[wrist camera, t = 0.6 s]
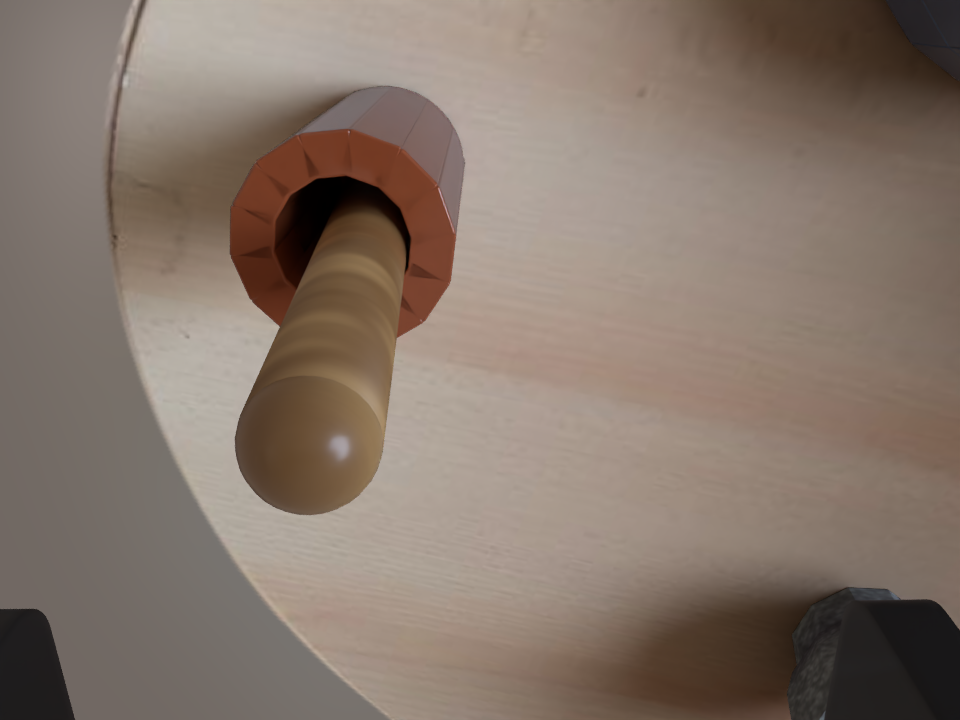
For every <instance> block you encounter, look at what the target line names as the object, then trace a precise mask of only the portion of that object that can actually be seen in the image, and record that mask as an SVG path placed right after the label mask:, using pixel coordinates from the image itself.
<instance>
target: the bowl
mask: <svg viewBox="0 0 960 720" xmlns="http://www.w3.org/2000/svg"><path fill="white" fill-rule="evenodd" d="M886 2H887V4H888V5H889V7H890V9H891V11H892V12H893V14H894V16H895V17H896V19H897V21H898V23H899V24H900V26H901V28H902V29H903V31H904V33H905V35H906V36H907V38H908V40H909V41H910V42H911V43H912V45H913V46H914V47H916V48H917V49H918V50H920V51H921V52H922V53H923V54H925V55H926V56H927V57H928V58H930V59H931V60H932V61H934V62H935V63H936V64H937V65H939V66H940V67H941V68H942V69H944V70H945V71H946V72H948V73H949V74H950V75H951V76H953V77H954V78H955V79H956V80H959V81H960V0H886Z"/></svg>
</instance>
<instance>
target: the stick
mask: <svg viewBox="0 0 960 720" xmlns="http://www.w3.org/2000/svg"><path fill="white" fill-rule="evenodd" d="M408 241H409V232H408V230H407V227H406V224H405V222H404V219H403V216H402V214H401V211H400V209H399V208H398V207H397V206H396V205H395V204H394V203H393V202H392V201H391V200H390V199H389V198H388V197H387V196H386V195H385V194H384V193H383V192H382V191H381V190H380V189H379V188H378V187H375V186H373V185H370V184H367V183H364V182H362V181H359V180H356V179H353V178H351V177H347V179H346V181H345V184H344V186H343V188H342V190H341V192H340V195H339V197H338V199H337V201H336V204H335V206H334V208H333V210H332V212H331V215H330V217H329V219H328V221H327V224H326V226H325V228H324V230H323V232H322V235H321V237H320V239H319V241H318V244H317V246H316V248H315V250H314V252H313V255H312V257H311V259H310V261H309V264H308V266H307V268H306V270H305V272H304V275H303V277H302V279H301V281H300V284H299V286H298V288H297V290H296V293H295V295H294V297H293V299H292V301H291V304H290V306H289V308H288V310H287V313H286V315H285V317H284V319H283V321H282V324H281V326H280V328H279V330H278V333H277V335H276V337H275V339H274V341H273V344H272V346H271V348H270V350H269V353H268V355H267V357H266V359H265V361H264V364H263V366H262V368H261V370H260V373H259V375H258V377H257V379H256V381H255V384H254V386H253V388H252V390H251V393H250V395H249V397H248V399H247V401H246V404H245V406H244V408H243V410H242V413H241V415H240V418H239V421H238V426H237V431H236V436H235V451H236V457H237V461H238V465H239V469H240V471H241V473H242V475H243V477H244V479H245V480H246V482H247V483H248V484H249V486H250V487H251V488H252V489H253V491H254V492H255V493H256V494H257V495H258V496H259V497H260V498H261V499H263V500H264V501H265V502H267V503H268V504H270V505H272V506H273V507H275V508H278V509H280V510H283V511H285V512H289V513H294V514H299V515H315V514H323V513H326V512H330V511H333V510H336V509H338V508H340V507H342V506H344V505H346V504H348V503H350V502H351V501H352V500H353V499H355V498H356V497H357V496H359V495H360V493H361V492H362V491H363V490H364V489H365V488H366V487H367V485H368V484H369V483H370V482H371V480H372V479H373V477H374V475H375V473H376V471H377V469H378V466H379V463H380V460H381V456H382V452H383V445H384V437H385V428H386V420H387V412H388V404H389V396H390V388H391V380H392V372H393V363H394V355H395V347H396V339H397V331H398V323H399V315H400V306H401V298H402V290H403V282H404V274H405V266H406V258H407V250H408Z"/></svg>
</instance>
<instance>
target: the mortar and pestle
mask: <svg viewBox="0 0 960 720" xmlns="http://www.w3.org/2000/svg"><path fill="white" fill-rule="evenodd" d="M855 600H901V599H900V598H898V597H897V596H896V595H894V594H893V593H892V592H891V591H889V590H887V589H866V588H847V589H844V590H842V591H840V592H838V593H836V594H834V595H832V596H830V597H828V598H826V599H824V600H821V601H819V602H817V603H815V604H813V605H811V607H810V608H809V610H808V611H807V613H806V614H805V616H804V617H803V619H802V620H801V622H800V624H799V625H798V627H797V628H796V630H795V631H794V633H793V634H792V638H793V644H794V650H795V656H796V663H797V666H796V668H795V669H794V671H793V672H792V676H791V680H790V684H789V687H788V691H787V697H788V703H789V709H790V715H791V720H824V719H825V711H826V706H827V700H828V695H829V689H830V684H831V678H832V672H833V667H834V661H835V656H836V650H837V645H838V639H839V633H840V628H841V622H842V618H843V614H844V611H845V608H846V607H847V605H848V604H849V603H850V602H851V601H855Z"/></svg>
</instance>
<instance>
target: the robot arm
mask: <svg viewBox="0 0 960 720" xmlns="http://www.w3.org/2000/svg"><path fill="white" fill-rule="evenodd" d="M0 720H75V718H74V714H73V711H72V707H71V703H70V699H69V695H68V692H67V688H66V684H65V680H64V676H63V673H62V669H61V665H60V662H59V658H58V654H57V650H56V646H55V643H54V639H53V635H52V631H51V628H50V625H49V622H48V620H47V618H46V616H45V615H44V614H43V613H42V612H41V611H39V610H37V609H0ZM824 720H960V630H959V629H958V628H957V626H956V625H955V624H954V622H953V621H952V620H951V618H950V617H949V615H948V614H947V613H946V611H945V610H944V609H943V608H942V607H941V606H940V605H939V604H938V603H936V602H934V601H932V600H927V599H923V600H855V601H851V602H850V603H849V604H848V605H847V607H846V608H845V611H844V614H843V618H842V622H841V628H840V633H839V639H838V645H837V650H836V656H835V661H834V667H833V672H832V678H831V684H830V689H829V695H828V700H827V706H826V711H825V719H824Z"/></svg>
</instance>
